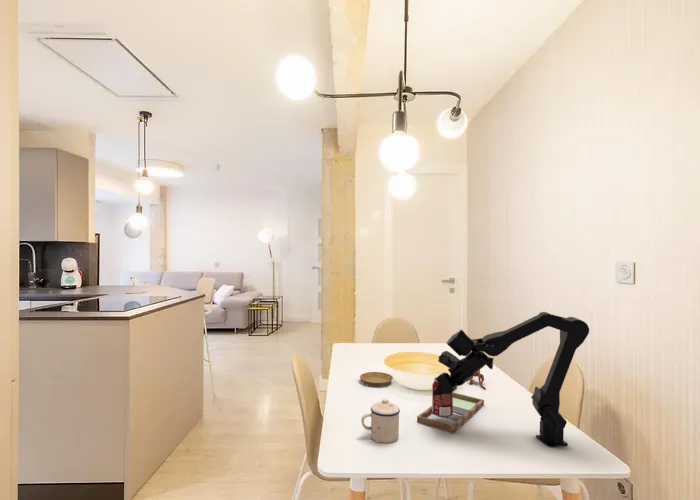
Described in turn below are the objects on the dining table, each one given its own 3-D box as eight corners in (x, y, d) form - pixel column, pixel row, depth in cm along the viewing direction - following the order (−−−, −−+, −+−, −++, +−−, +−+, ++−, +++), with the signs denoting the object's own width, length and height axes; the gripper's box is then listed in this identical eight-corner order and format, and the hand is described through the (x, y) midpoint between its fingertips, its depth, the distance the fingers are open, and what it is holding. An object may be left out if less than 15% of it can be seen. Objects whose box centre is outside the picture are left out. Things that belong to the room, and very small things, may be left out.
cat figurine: (492, 391, 161) (493, 359, 160) (478, 392, 159) (479, 360, 159) (471, 376, 178) (472, 347, 178) (458, 376, 177) (459, 348, 176)
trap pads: (461, 422, 128) (461, 421, 128) (432, 413, 134) (432, 413, 134) (472, 412, 136) (472, 411, 136) (444, 404, 143) (444, 404, 143)
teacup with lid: (395, 429, 122) (396, 393, 122) (402, 443, 113) (403, 404, 113) (359, 430, 120) (359, 394, 121) (363, 445, 111) (364, 405, 112)
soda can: (453, 419, 124) (453, 383, 124) (432, 418, 125) (432, 382, 125) (451, 411, 131) (451, 377, 131) (432, 409, 132) (432, 375, 132)
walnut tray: (453, 434, 119) (453, 427, 119) (417, 422, 127) (417, 416, 127) (483, 405, 143) (483, 400, 143) (451, 396, 151) (451, 391, 151)
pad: (472, 412, 137) (472, 411, 137) (445, 404, 143) (445, 403, 143) (480, 405, 143) (480, 404, 143) (453, 398, 150) (453, 397, 150)
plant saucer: (370, 390, 157) (370, 384, 157) (354, 379, 170) (354, 374, 170) (399, 385, 164) (399, 379, 164) (381, 375, 177) (381, 370, 177)
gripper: (463, 340, 133) (434, 365, 140) (442, 350, 118) (410, 378, 125) (486, 366, 128) (454, 391, 135) (466, 380, 113) (432, 407, 120)
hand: (438, 391), depth 129 cm, fingers closed on soda can, 7 cm apart
